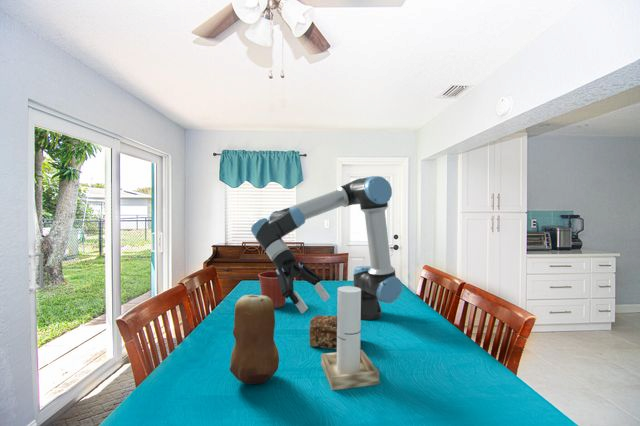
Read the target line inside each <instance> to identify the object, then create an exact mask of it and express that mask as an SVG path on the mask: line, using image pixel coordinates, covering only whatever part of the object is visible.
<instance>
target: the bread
mask: <svg viewBox="0 0 640 426" xmlns="http://www.w3.org/2000/svg"><path fill="white" fill-rule="evenodd" d="M308 332H309V333H308V336H309V340H308V341H309V345H310V347H313V348H315V347H319V348H323V349H331V350H332V349H333V350H337V315H323V314H319V315H314V317H312V318H311V319H310V321H309V327H308Z"/></svg>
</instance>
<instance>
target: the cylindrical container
mask: <svg viewBox="0 0 640 426" xmlns="http://www.w3.org/2000/svg"><path fill="white" fill-rule="evenodd" d="M336 291H337V293H336V294H337V299H336V301H337V303H336V304H337V308H336V309H337V310H336V311H337V313H336V316H337V349H336V352H337V372H338V373H339V374H340V375H342V374H351V373H359V372H360V350H361V332H362V331H361V328H362V324H361V322H362V321H361V320H362V319H361V289H360V288H358V287H354V285H353V286H351V285H343V286H339V287H337V290H336Z"/></svg>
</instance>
